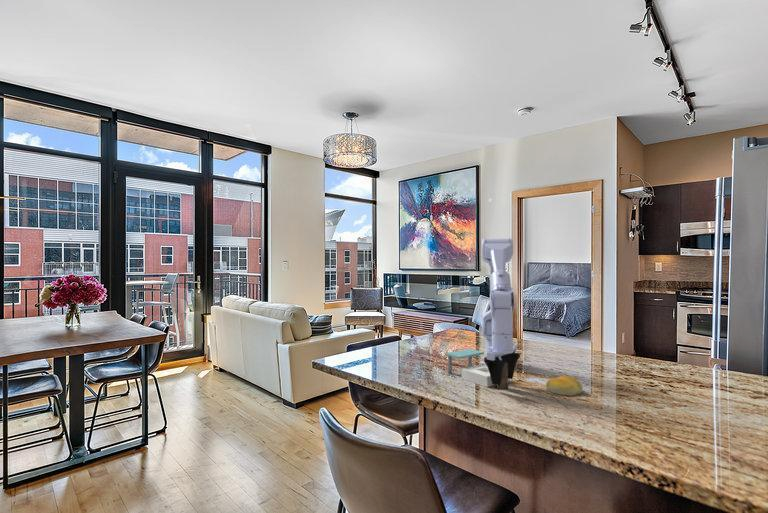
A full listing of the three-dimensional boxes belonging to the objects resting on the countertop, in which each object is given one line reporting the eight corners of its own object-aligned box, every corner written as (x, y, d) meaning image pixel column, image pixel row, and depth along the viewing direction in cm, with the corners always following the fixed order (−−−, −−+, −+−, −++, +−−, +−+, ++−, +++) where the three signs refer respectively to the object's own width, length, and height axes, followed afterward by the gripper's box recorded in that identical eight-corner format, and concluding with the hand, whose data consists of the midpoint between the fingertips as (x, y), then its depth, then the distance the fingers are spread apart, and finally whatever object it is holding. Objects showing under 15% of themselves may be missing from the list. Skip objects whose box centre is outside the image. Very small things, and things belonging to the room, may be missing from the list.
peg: (501, 386, 113) (501, 361, 113) (510, 388, 111) (509, 363, 111) (495, 387, 112) (495, 362, 112) (503, 390, 109) (503, 365, 109)
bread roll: (540, 389, 110) (540, 375, 110) (563, 385, 114) (563, 371, 114) (564, 399, 103) (564, 383, 103) (588, 394, 107) (588, 379, 107)
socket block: (484, 373, 126) (484, 363, 126) (510, 381, 118) (509, 371, 118) (461, 378, 120) (461, 368, 120) (487, 387, 112) (487, 376, 112)
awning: (470, 368, 132) (470, 348, 132) (483, 372, 127) (483, 352, 127) (445, 373, 126) (445, 353, 126) (459, 377, 121) (459, 356, 121)
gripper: (500, 328, 119) (501, 373, 119) (476, 334, 109) (476, 384, 109) (523, 330, 115) (523, 377, 114) (500, 337, 104) (501, 389, 104)
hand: (502, 381), depth 111 cm, fingers open, 7 cm apart
